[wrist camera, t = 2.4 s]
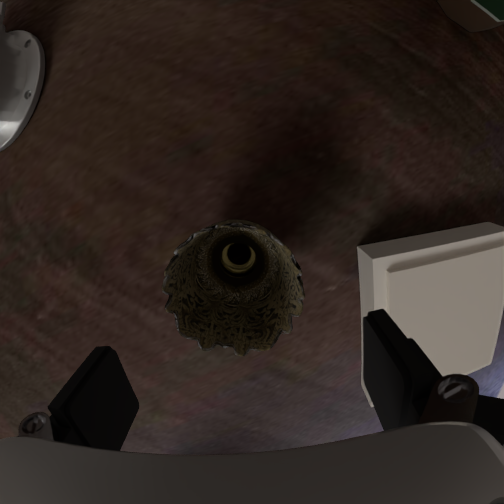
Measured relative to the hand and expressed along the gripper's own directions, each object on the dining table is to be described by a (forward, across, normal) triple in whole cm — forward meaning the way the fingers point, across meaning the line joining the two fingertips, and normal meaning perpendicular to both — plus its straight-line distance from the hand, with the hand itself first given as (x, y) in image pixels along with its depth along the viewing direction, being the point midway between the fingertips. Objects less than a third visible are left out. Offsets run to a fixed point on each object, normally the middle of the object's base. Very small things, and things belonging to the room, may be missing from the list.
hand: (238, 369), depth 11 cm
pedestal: (+14, -15, +7) cm, 22 cm away
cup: (+14, +1, -1) cm, 14 cm away
